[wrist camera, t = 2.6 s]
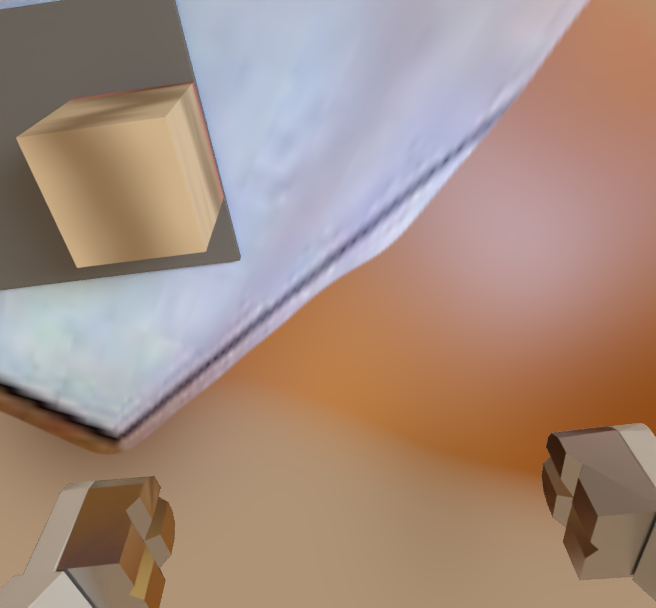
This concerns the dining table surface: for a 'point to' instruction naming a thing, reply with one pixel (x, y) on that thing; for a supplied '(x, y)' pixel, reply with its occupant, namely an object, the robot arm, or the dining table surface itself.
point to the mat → (75, 82)
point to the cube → (127, 174)
